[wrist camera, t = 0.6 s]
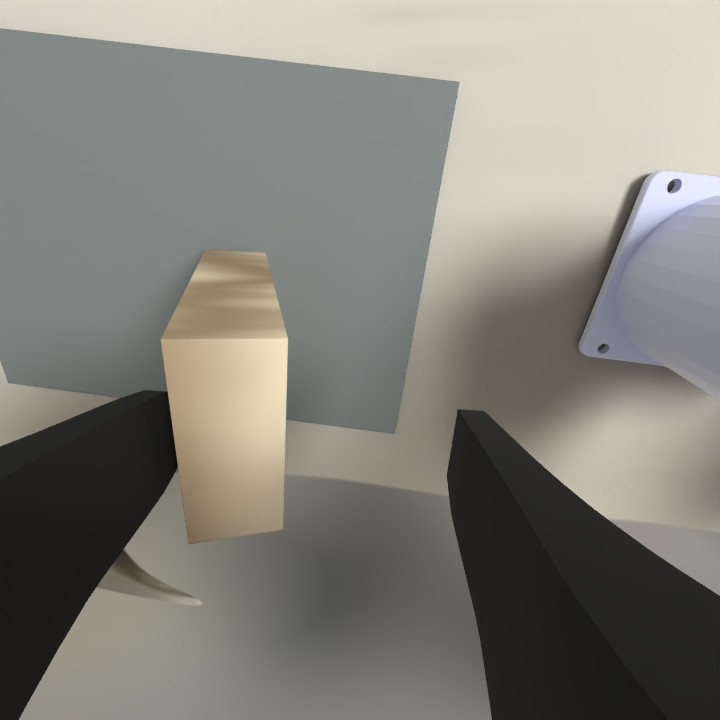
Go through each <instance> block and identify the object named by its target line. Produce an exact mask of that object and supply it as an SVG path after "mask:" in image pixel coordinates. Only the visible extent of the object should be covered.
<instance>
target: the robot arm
mask: <svg viewBox="0 0 720 720" xmlns="http://www.w3.org/2000/svg"><path fill="white" fill-rule="evenodd" d="M672 180H674V182H675V185H674V188H673V189H672V191H670V192H668V191H667V185H668V184H669V182H670V181H672ZM602 344H605V347H604V348H603V349H602V350H598V347H599V346H600V345H602ZM578 347H579V350H580V351H581V352H582V353H583V354H584V355H585V356H588V357H596V358H604V359H612V360H619V361H627V362H635V363H643V364H651V365H659V366H666V367H667V368H669V369H670V370H672V371H674V372H675V373H677V374H678V375H680V376H681V377H683V378H684V379H686V380H688V381H689V382H691V383H692V384H694V385H695V386H697V387H699V388H700V389H702V390H703V391H705V392H706V393H708V394H710V395H711V396H713V397H714V398H716V399H717V400H719V401H720V177H718V176H710V175H701V174H693V173H685V172H676V171H668V170H665V171H656V172H654V173H651V174H650V175H649V176H648V177H647V178H646V179H645V181H644V183H643V185H642V187H641V190H640V192H639V195H638V197H637V200H636V202H635V205H634V207H633V210H632V212H631V215H630V217H629V220H628V222H627V225H626V227H625V230H624V232H623V235H622V237H621V240H620V242H619V245H618V247H617V250H616V252H615V255H614V257H613V260H612V262H611V265H610V267H609V270H608V272H607V275H606V277H605V280H604V282H603V285H602V287H601V290H600V292H599V295H598V297H597V300H596V302H595V305H594V307H593V310H592V312H591V315H590V317H589V320H588V322H587V325H586V327H585V330H584V332H583V335H582V337H581V340H580V342H579V346H578ZM177 467H178V463H177V456H176V448H175V441H174V434H173V426H172V419H171V412H170V404H169V397H168V391H152V390H144V391H140V392H137V393H134V394H131V395H128V396H125V397H122V398H120V399H117V400H115V401H112V402H110V403H107V404H105V405H102V406H100V407H97V408H95V409H92V410H90V411H88V412H85V413H83V414H80V415H78V416H75V417H73V418H71V419H68V420H66V421H63V422H61V423H59V424H56V425H54V426H51V427H49V428H47V429H44V430H42V431H39V432H37V433H34V434H32V435H29V436H26V437H24V438H21V439H19V440H16V441H14V442H11V443H8V444H6V445H3V446H1V447H0V720H19V718H20V716H21V714H22V712H23V711H24V709H25V707H26V705H27V703H28V702H29V700H30V698H31V696H32V695H33V693H34V691H35V689H36V687H37V685H38V684H39V682H40V680H41V679H42V676H43V675H44V673H45V671H46V670H47V668H48V666H49V664H50V663H51V661H52V659H53V657H54V655H55V654H56V652H57V650H58V648H59V646H60V645H61V643H62V642H63V640H64V638H65V637H66V635H67V633H68V632H69V630H70V628H71V627H72V625H73V623H74V622H75V620H76V618H77V617H78V615H79V613H80V612H81V610H82V608H83V607H84V605H85V603H86V602H87V600H88V599H89V597H90V596H91V594H92V593H93V591H94V590H95V588H96V587H97V585H98V584H99V582H100V581H101V579H102V578H103V577H104V575H105V574H106V572H107V571H108V570H109V568H110V567H111V565H112V564H113V563H114V561H115V560H116V559H117V557H118V556H119V554H120V553H121V552H122V550H123V549H124V548H125V546H126V545H127V543H128V542H129V541H130V539H131V538H132V536H133V535H134V534H135V532H136V531H137V530H138V528H139V527H140V525H141V524H142V523H143V521H144V520H145V518H146V517H147V516H148V514H149V513H150V511H151V510H152V509H153V507H154V506H155V504H156V503H157V502H158V500H159V499H160V497H161V496H162V494H163V493H164V491H165V489H166V487H167V486H168V484H169V482H170V481H171V479H172V477H173V475H174V473H175V471H176V469H177ZM447 480H448V490H449V499H450V507H451V515H452V519H453V523H454V527H455V532H456V536H457V541H458V545H459V549H460V553H461V557H462V561H463V565H464V570H465V574H466V578H467V582H468V586H469V591H470V595H471V599H472V603H473V607H474V611H475V616H476V621H477V626H478V631H479V635H480V640H481V647H482V654H483V660H484V667H485V674H486V681H487V687H488V694H489V700H490V708H491V716H492V720H720V596H719V595H717V594H716V593H714V592H713V591H711V590H709V589H708V588H706V587H705V586H703V585H702V584H700V583H699V582H697V581H696V580H694V579H693V578H691V577H689V576H688V575H686V574H685V573H683V572H682V571H680V570H678V569H677V568H675V567H674V566H672V565H671V564H669V563H668V562H666V561H665V560H664V559H662V558H661V557H659V556H658V555H656V554H655V553H653V552H652V551H650V550H649V549H647V548H646V547H645V546H643V545H642V544H641V543H639V542H638V541H636V540H635V539H634V538H632V537H631V536H630V535H628V534H627V533H625V532H624V531H623V530H621V529H620V528H618V527H617V526H616V525H614V524H613V523H612V522H610V521H609V520H607V519H606V518H605V517H604V516H602V515H601V514H600V513H598V512H597V511H596V510H594V509H593V508H592V507H591V506H589V505H588V504H587V503H586V502H584V501H583V500H582V499H581V498H580V497H578V496H577V495H576V494H575V493H574V492H572V491H571V490H570V489H569V488H567V487H566V486H565V485H564V484H563V483H561V482H560V481H559V480H558V479H557V478H556V477H554V476H553V475H552V474H551V473H550V472H549V471H548V470H546V469H545V468H544V467H543V466H542V465H541V464H540V463H539V462H538V461H536V460H535V459H534V458H533V457H532V456H531V455H530V454H529V453H528V452H527V451H526V450H525V449H523V448H522V447H521V446H520V445H519V444H518V443H517V442H516V441H515V440H514V439H513V438H512V437H511V436H510V435H509V434H508V433H507V432H506V431H505V430H504V429H503V428H501V427H500V426H499V425H498V424H497V423H496V422H495V421H494V420H493V419H492V418H491V417H490V416H489V415H488V414H487V413H485V412H484V411H476V410H460V409H458V411H457V417H456V423H455V429H454V435H453V441H452V448H451V454H450V460H449V466H448V472H447Z"/></svg>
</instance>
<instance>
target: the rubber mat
mask: <svg viewBox="0 0 720 720" xmlns="http://www.w3.org/2000/svg"><path fill="white" fill-rule="evenodd" d="M458 87H459V82H456V81H447V80H438V79H430V78H421V77H413V76H404V75H396V74H387V73H378V72H370V71H361V70H353V69H344V68H336V67H327V66H318V65H310V64H301V63H293V62H284V61H276V60H267V59H258V58H250V57H241V56H233V55H224V54H215V53H207V52H198V51H190V50H181V49H173V48H164V47H155V46H147V45H138V44H130V43H121V42H113V41H104V40H95V39H87V38H78V37H70V36H61V35H53V34H44V33H35V32H27V31H18V30H10V29H1V28H0V361H1V363H2V366H3V369H4V372H5V375H6V378H7V381H8V383H13V384H20V385H28V386H35V387H43V388H50V389H58V390H66V391H73V392H81V393H88V394H96V395H104V396H111V397H119V398H122V397H125V396H128V395H131V394H134V393H137V392H140V391H144V390H152V391H168V390H167V382H166V375H165V368H164V360H163V353H162V346H161V338H162V336H163V334H164V332H165V330H166V328H167V326H168V324H169V322H170V320H171V318H172V316H173V314H174V312H175V310H176V308H177V306H178V304H179V302H180V300H181V298H182V296H183V294H184V292H185V290H186V288H187V286H188V284H189V282H190V280H191V278H192V276H193V274H194V272H195V270H196V268H197V266H198V264H199V262H200V260H201V258H202V256H203V254H204V252H205V250H206V249H220V250H237V251H253V252H266V256H267V260H268V264H269V268H270V272H271V275H272V279H273V283H274V287H275V291H276V295H277V298H278V302H279V306H280V310H281V314H282V318H283V321H284V325H285V329H286V333H287V337H288V357H287V395H286V420H293V421H301V422H309V423H316V424H324V425H331V426H339V427H347V428H354V429H362V430H369V431H377V432H385V433H392V434H395V428H396V423H397V418H398V412H399V407H400V401H401V396H402V391H403V385H404V380H405V374H406V369H407V363H408V358H409V353H410V347H411V342H412V336H413V331H414V326H415V320H416V315H417V309H418V304H419V298H420V293H421V288H422V282H423V277H424V271H425V266H426V261H427V255H428V250H429V244H430V239H431V233H432V228H433V223H434V217H435V212H436V206H437V201H438V196H439V190H440V185H441V179H442V174H443V168H444V163H445V158H446V152H447V147H448V141H449V136H450V131H451V125H452V120H453V114H454V109H455V104H456V98H457V93H458Z"/></svg>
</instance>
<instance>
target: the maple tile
mask: <svg viewBox="0 0 720 720" xmlns="http://www.w3.org/2000/svg"><path fill="white" fill-rule="evenodd" d="M161 346H162V353H163V360H164V368H165V375H166V382H167V390H168V397H169V404H170V412H171V419H172V426H173V434H174V441H175V448H176V456H177V463H178V470H179V477H180V485H181V492H182V499H183V507H184V513H185V521H186V529H187V536H188V543H189V544H194V543H200V542H206V541H213V540H219V539H226V538H232V537H239V536H245V535H251V534H257V533H264V532H271V531H276V530H282V529H283V509H284V472H285V434H286V395H287V357H288V337H287V333H286V329H285V325H284V321H283V318H282V314H281V310H280V306H279V302H278V298H277V295H276V291H275V287H274V283H273V279H272V275H271V272H270V268H269V264H268V260H267V256H266V252H253V251H237V250H220V249H206V250H205V252H204V254H203V256H202V258H201V260H200V262H199V264H198V266H197V268H196V270H195V272H194V274H193V276H192V278H191V280H190V282H189V284H188V286H187V288H186V290H185V292H184V294H183V296H182V298H181V300H180V302H179V304H178V306H177V308H176V310H175V312H174V314H173V316H172V318H171V320H170V322H169V324H168V326H167V328H166V330H165V332H164V334H163V336H162V338H161Z"/></svg>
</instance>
